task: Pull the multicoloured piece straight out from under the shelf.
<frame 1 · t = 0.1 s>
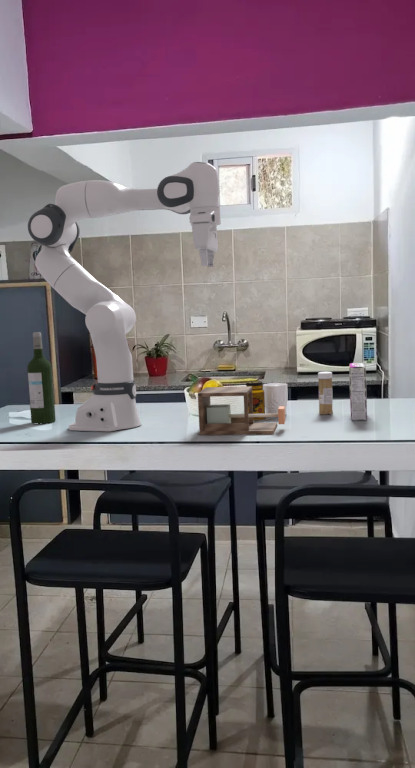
hand: (207, 266, 208), 48 cm above the counter, fingers open, 8 cm apart
condiment: (255, 419, 221), on the counter
candy bar box: (358, 418, 215), on the counter
multicoloured piece: (246, 415, 202), point 4 cm above the counter, slide at 0.0 cm
wine bottle: (43, 422, 233), on the counter
sprinkles bottle: (326, 414, 225), on the counter
white cup: (276, 415, 227), on the counter
shelf: (234, 430, 203), on the counter
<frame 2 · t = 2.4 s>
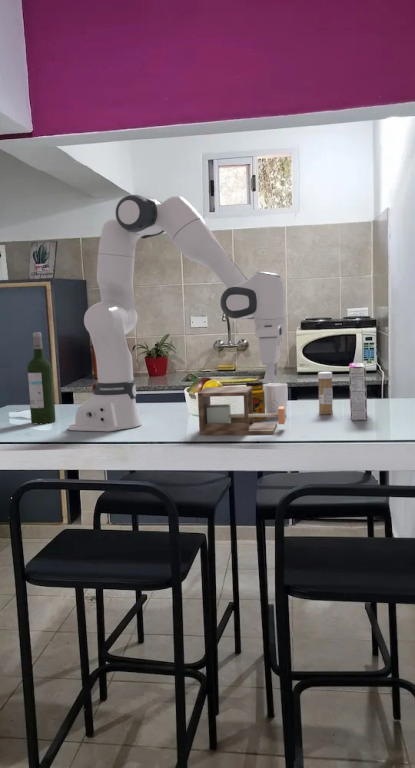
hand: (272, 377, 199), 15 cm above the counter, fingers open, 8 cm apart
nothing on the counter moved.
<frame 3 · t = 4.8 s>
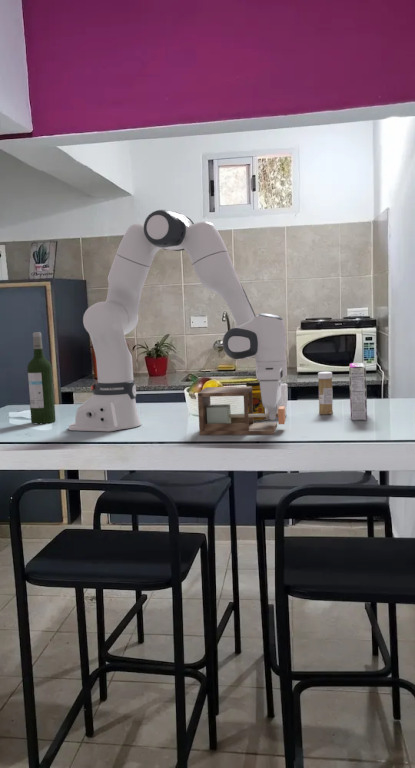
hand: (273, 418, 201), 3 cm above the counter, fingers closed on multicoloured piece
multicoloured piece: (246, 415, 202), point 4 cm above the counter, slide at 0.0 cm, touching gripper
everything else where it was.
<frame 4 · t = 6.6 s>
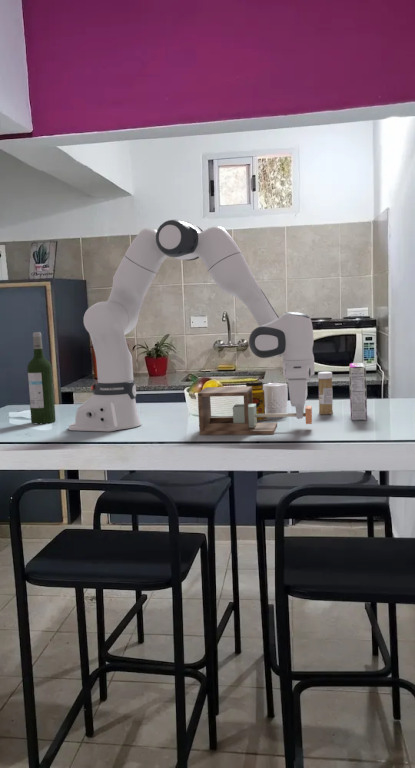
hand: (300, 417, 199), 4 cm above the counter, fingers closed on multicoloured piece
multicoloured piece: (272, 415, 201), point 4 cm above the counter, slide at 7.7 cm, touching gripper
everything else where it was.
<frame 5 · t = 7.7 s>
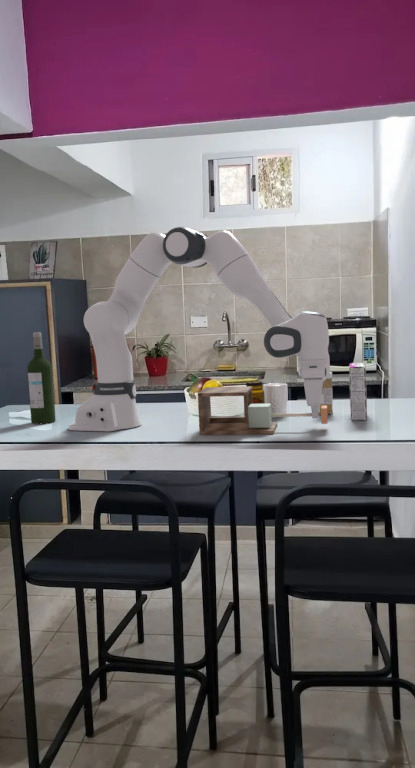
hand: (315, 417, 199), 4 cm above the counter, fingers closed on multicoloured piece
multicoloured piece: (287, 415, 200), point 4 cm above the counter, slide at 12.0 cm, touching gripper
everything else where it was.
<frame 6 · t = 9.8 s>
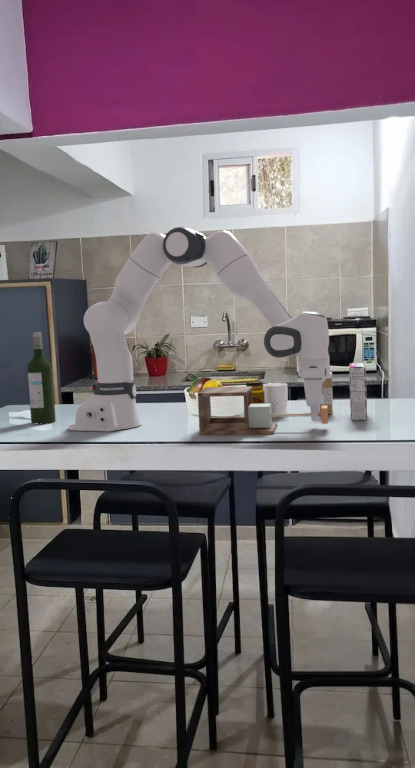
hand: (315, 417, 199), 4 cm above the counter, fingers open, 8 cm apart
multicoloured piece: (288, 415, 200), point 4 cm above the counter, slide at 12.1 cm
everything else where it was.
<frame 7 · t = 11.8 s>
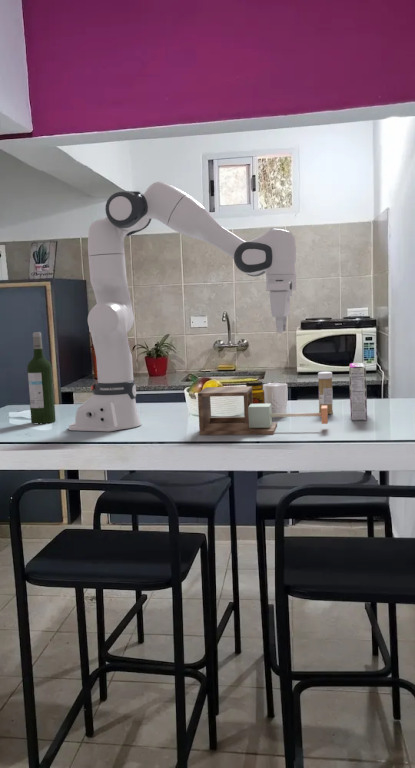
hand: (281, 331, 208), 28 cm above the counter, fingers open, 8 cm apart
nothing on the counter moved.
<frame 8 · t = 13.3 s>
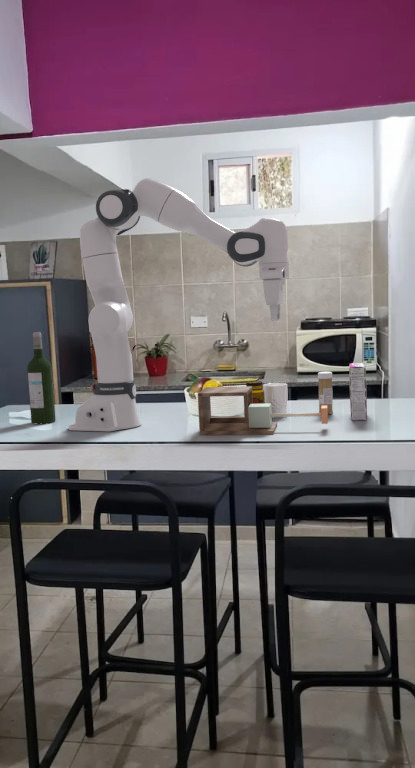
hand: (275, 320, 210), 31 cm above the counter, fingers open, 8 cm apart
nothing on the counter moved.
at the end: multicoloured piece slide at 12.1 cm; the gripper is holding nothing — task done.
